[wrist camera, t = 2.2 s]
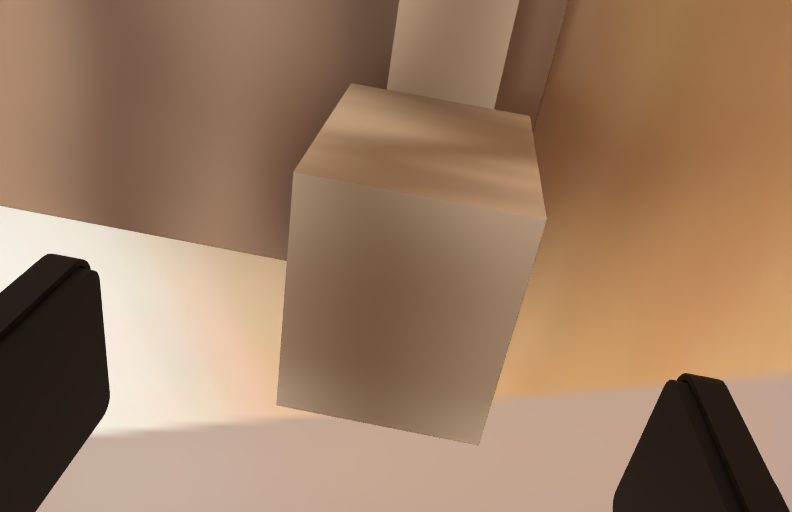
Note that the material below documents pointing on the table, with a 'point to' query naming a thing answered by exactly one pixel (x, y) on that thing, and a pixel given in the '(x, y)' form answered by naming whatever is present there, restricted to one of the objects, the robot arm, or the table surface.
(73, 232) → the table surface
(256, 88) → the board
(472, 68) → the stacked wooden blocks
